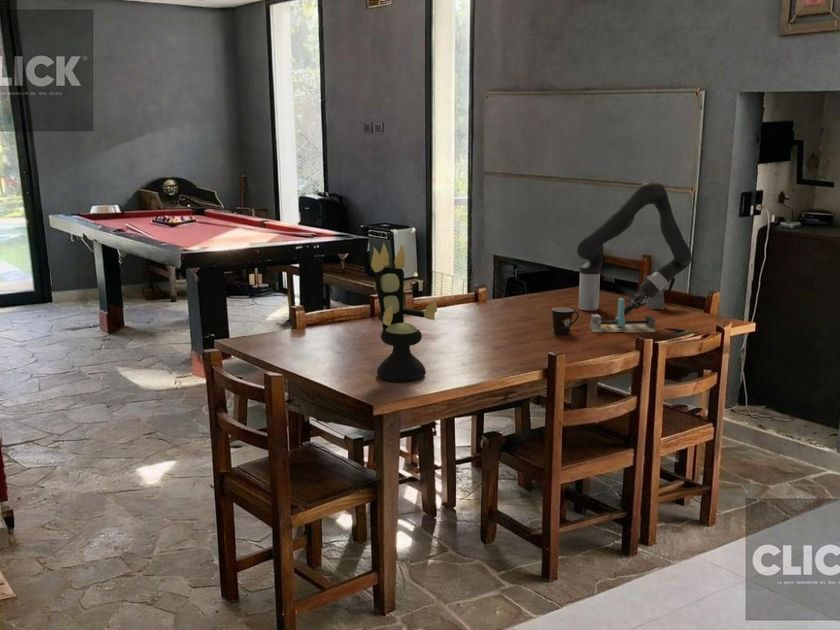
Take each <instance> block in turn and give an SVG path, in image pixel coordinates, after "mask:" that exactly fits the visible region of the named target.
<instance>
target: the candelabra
mask: <svg viewBox="0 0 840 630" xmlns="http://www.w3.org/2000/svg"><path fill="white" fill-rule="evenodd" d="M389 257H390V254H389V252H388V250H387V247H386V245H385V243H383V244H382V248H381V251H380V253H379V252H378V250H377V248H375V247H373V253H372V258H371V265H370V266H371V268H372V270H373V272H374V283H375V288H376V289H375V290H376V293H377V299H378V302H379V303H378V304H379V308H380V311H379V312H378V313H377V317H378V320H379V321H381V324H382V331H381V334H380V339H381V341H382V342H383V343H384V344H385V345H388V346H392V352H391V353H390V354H389V355H388V356H387V357H386V358H385V359H384V360H383V361H382V362H381V363H380V364H379V366H378V367H377V371H376V374H377V375H378V376H379V378H380V379H382V378H383V379H382V380H384V379H385V381H388V380H389V382H395V381H397V383H405V382H406V383H407V382H414V380H415V381H418V380H420V379H422V378H423V377H425V375H426V374H427V372H426V367H425V366H424V364H423V362H421V361H420V359H418V358H417V357H416V356H414V354H412V352H411V346H415V345H416V344H417V345H418V344H419V343H420V342H421V341H422V337H423V335H422V332H421V331H420V329H418V328H417V327H416V326H414V325H412V324H410V323H407V322H405V319H404V318H405V317H404V315H406V316H412V317H418V318H425V319H426V320H431V321H434V320H435V316H436V315H435V314H436V313H437V312H438V307H437V305H438V304H437V299H436V298H434V300H433V301H430V302H429V303H428V304H427V306H426V308H425V309H424V310H420V309H414V308H404V290H405V289H404V287H405V272H404V268H405V261H406V253H405V249H404V245H403V244H401V245H400V248H399V250H398V252H397V254H396V256H395V259H394V261H393V262H394V267H392V266H391V267H390V266H389V265H390V261H389V259H390V258H389Z"/></svg>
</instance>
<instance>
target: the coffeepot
mask: <svg viewBox="0 0 840 630" xmlns="http://www.w3.org/2000/svg"><path fill="white" fill-rule="evenodd" d="M649 276H650V275H647V276H644V277H643V280H644V281H645V280H646V279H647V278H648V277H649ZM675 282H676V279H675V277H674V278H673V279H672V280H670V281H669V284H670V285H669V286H668V289H667V290H666V286H665V287H664V288H663V289H662V290H661V291H660V292H659V293H658V294H657V295H656V296H655V297H654V298H650V297H648V299H647V300H646V304H645V308H646V307H647V308H650V309H649V310H651V309H662V308H665V306H666V305H665V297H664V292H665V293H670V292H672V288H673V286H674V284H675ZM647 308H646V309H647ZM665 309H666V308H665Z"/></svg>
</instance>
